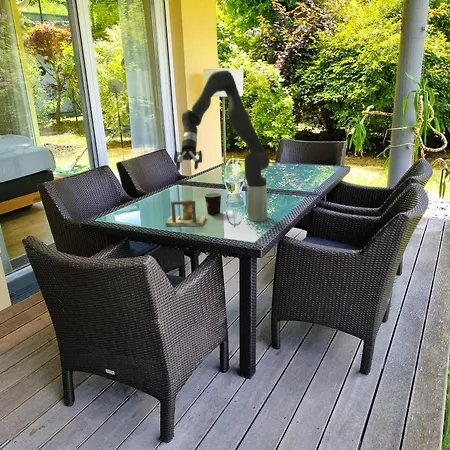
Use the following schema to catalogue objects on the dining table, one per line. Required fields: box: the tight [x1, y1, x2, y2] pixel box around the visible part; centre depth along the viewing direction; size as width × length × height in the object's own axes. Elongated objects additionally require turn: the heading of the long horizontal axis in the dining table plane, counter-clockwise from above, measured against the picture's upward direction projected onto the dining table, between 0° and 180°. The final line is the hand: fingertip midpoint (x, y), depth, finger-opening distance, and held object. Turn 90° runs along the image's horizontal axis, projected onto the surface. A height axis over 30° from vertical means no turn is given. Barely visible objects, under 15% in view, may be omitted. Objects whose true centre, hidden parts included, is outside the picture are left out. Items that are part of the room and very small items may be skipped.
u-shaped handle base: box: [165, 200, 207, 227], centre depth 216 cm, size 18×11×12 cm, turn 84°
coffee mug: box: [204, 192, 222, 216], centre depth 227 cm, size 12×9×10 cm
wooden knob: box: [181, 199, 193, 220], centre depth 219 cm, size 6×6×10 cm
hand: (187, 169), depth 220 cm, fingers open, 8 cm apart
